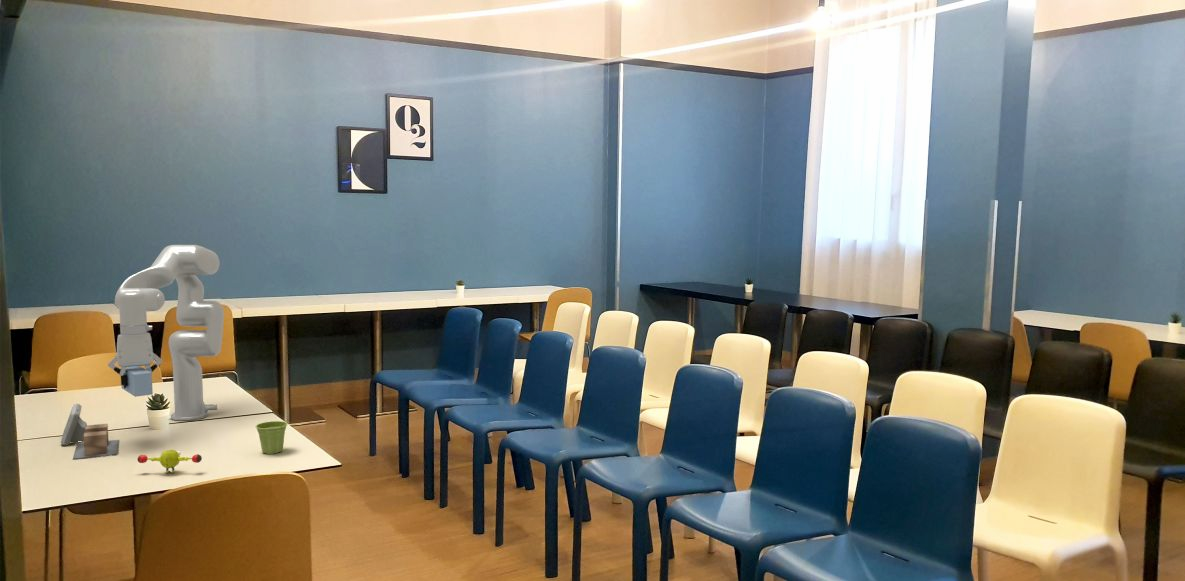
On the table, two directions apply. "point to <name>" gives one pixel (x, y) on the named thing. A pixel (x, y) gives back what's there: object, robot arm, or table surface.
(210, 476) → the table surface
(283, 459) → the table surface
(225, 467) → the table surface
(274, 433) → the plant pot
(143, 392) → the lintel
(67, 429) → the digital clock
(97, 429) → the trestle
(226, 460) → the table surface
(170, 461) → the toy figure
